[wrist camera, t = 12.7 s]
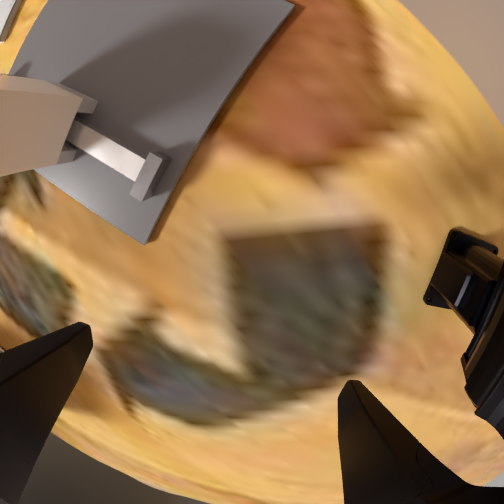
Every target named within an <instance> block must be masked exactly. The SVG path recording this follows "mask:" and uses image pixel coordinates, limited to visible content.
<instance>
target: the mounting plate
mask: <svg viewBox="0 0 504 504" xmlns="http://www.w3.org/2000/svg"><path fill="white" fill-rule="evenodd" d="M294 9H295V5H294V4H292V3H290V2H287V1H285V0H48V2H47V3H46V5H45V6H44V8H43V9H42V11H41V13H40V14H39V16H38V17H37V19H36V21H35V22H34V24H33V26H32V28H31V29H30V31H29V33H28V35H27V37H26V39H25V41H24V42H23V44H22V46H21V48H20V50H19V52H18V55H17V57H16V59H15V61H14V63H13V65H12V68H11V70H10V72H9V75H14V76H18V77H26V78H33V79H39V80H45V81H51V82H57V83H60V84H63V85H65V86H67V87H69V88H71V89H74V90H76V91H78V92H80V93H82V94H84V95H86V96H88V97H91V98H93V99H95V100H97V101H98V104H97V106H96V108H95V110H94V112H93V114H91V113H81V112H77V113H76V115H75V116H77V117H79V118H81V119H83V120H85V121H86V122H88V123H90V124H92V125H94V126H96V127H97V128H99V129H101V130H103V131H105V132H106V133H108V134H110V135H112V136H114V137H115V138H117V139H119V140H121V141H122V142H124V143H126V144H128V145H130V146H131V147H133V148H135V149H137V150H138V151H140V152H142V153H144V154H145V155H147V156H148V154H149V152H156V151H161V152H163V153H164V154H166V155H168V156H170V157H171V158H172V160H171V162H170V164H169V166H168V168H167V170H166V171H165V173H164V175H163V177H162V179H161V181H160V183H159V185H158V187H157V189H156V191H155V193H154V195H153V197H152V198H149V199H147V200H145V201H143V202H141V201H139V200H137V199H136V198H134V197H133V196H131V195H129V194H130V192H131V189H132V187H133V185H134V183H135V182H134V181H133V180H131V179H130V178H128V177H126V176H125V175H123V174H121V173H120V172H118V171H116V170H115V169H113V168H112V167H110V166H108V165H107V164H105V163H103V162H102V161H100V160H98V159H97V158H95V157H93V156H92V155H90V154H89V153H87V152H85V151H84V150H82V149H80V148H79V147H77V146H75V145H74V144H72V143H71V142H69V141H67V140H66V139H65V143H66V144H68V145H70V146H71V147H73V148H74V149H76V150H77V152H76V154H75V157H74V159H73V162H69V163H63V164H57V165H52V166H46V167H41V168H36V169H34V170H35V171H36V172H38V173H39V174H40V175H42V176H43V177H44V178H46V179H47V180H49V181H50V182H51V183H53V184H54V185H55V186H57V187H58V188H60V189H61V190H62V191H64V192H65V193H67V194H68V195H69V196H71V197H72V198H74V199H75V200H77V201H78V202H79V203H81V204H82V205H84V206H85V207H87V208H88V209H90V210H91V211H93V212H94V213H95V214H97V215H98V216H100V217H101V218H103V219H104V220H106V221H107V222H109V223H110V224H112V225H113V226H115V227H116V228H118V229H119V230H121V231H122V232H124V233H126V234H127V235H129V236H130V237H132V238H133V239H135V240H136V241H138V242H139V243H141V244H143V245H146V244H147V243H148V241H149V239H150V237H151V235H152V232H153V230H154V228H155V226H156V224H157V222H158V220H159V218H160V216H161V214H162V212H163V210H164V208H165V206H166V204H167V202H168V200H169V198H170V196H171V195H172V193H173V191H174V189H175V187H176V185H177V183H178V181H179V179H180V178H181V176H182V174H183V172H184V170H185V169H186V167H187V165H188V163H189V161H190V160H191V158H192V156H193V154H194V153H195V151H196V149H197V148H198V146H199V144H200V142H201V141H202V139H203V137H204V136H205V134H206V132H207V131H208V129H209V127H210V126H211V124H212V123H213V121H214V119H215V118H216V116H217V115H218V113H219V111H220V110H221V108H222V107H223V105H224V104H225V102H226V101H227V99H228V98H229V96H230V95H231V93H232V92H233V90H234V89H235V87H236V86H237V84H238V83H239V81H240V80H241V78H242V77H243V75H244V74H245V73H246V71H247V70H248V68H249V67H250V66H251V64H252V63H253V61H254V60H255V59H256V57H257V56H258V54H259V53H260V52H261V50H262V49H263V48H264V46H265V45H266V44H267V42H268V41H269V40H270V39H271V37H272V36H273V35H274V33H275V32H276V31H277V30H278V28H279V27H280V26H281V25H282V23H283V22H284V21H285V20H286V18H287V17H288V16H289V15H290V14H291V12H292V11H293V10H294Z"/></svg>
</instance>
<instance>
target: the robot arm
mask: <svg viewBox="0 0 504 504" xmlns="http://www.w3.org/2000/svg"><path fill="white" fill-rule="evenodd" d="M454 234H455V237H454V238H453V235H454ZM493 251H494V252H493ZM497 254H498V248H497V247H496V246H494V245H492V244H490V243H488V242H485V241H483V240H480V239H478V238H476V237H473V236H471V235H468V234H466V233H463V232H461V231H458V230H456V229H452V230H450V232H449V234H448V237H447V239H446V242H445V245H444V248H443V251H442V253H441V256H440V259H439V261H438V264H437V266H436V269H435V271H434V274H433V276H432V279H431V281H430V283H429V286H428V288H427V290H426V292H425V295H424V297H423V301H424V302H425V303H426V304H427V305H431V306H436V307H441V308H446V309H452V310H453V311H454V312H455V313H456V314H457V316H458V317H459V318H460V319H461V320H462V321H463V322H464V323H465V325H466V326H467V327H468V328H469V329H470V330H471V332H472V333H473V334H474V336H473V338H472V340H471V342H470V344H469V346H468V348H467V350H466V352H465V353H464V354H463V355H462V357H461V363H462V367H463V371H464V375H465V379H466V385H465V391H466V393H467V395H468V397H469V399H470V400H471V401H472V403H473V405H474V406H475V407H476V408H477V409H476V411H475V415H477V416H478V417H480V418H482V419H484V420H486V421H487V422H488V423H490V424H491V425H492V426H493V427H494V428H495V429H496V430H497V431H498V433H499V434H500V435H501V437H502V438H503V439H504V260H502V259H501V258H499V257H498V256H497ZM429 297H430V299H429V300H428V298H429ZM92 347H93V339H92V333H91V327H90V325H88V324H86V323H83V322H77V323H75V324H72V325H70V326H67V327H65V328H62V329H60V330H57V331H55V332H52V333H50V334H47V335H45V336H42V337H40V338H37V339H34V340H32V341H29V342H27V343H24V344H22V345H19V346H17V347H14V348H12V349H9V350H7V351H4V352H3V353H0V498H1V499H2V500H4V501H5V502H6V503H8V504H19V501H20V499H21V496H22V494H23V491H24V489H25V486H26V484H27V481H28V479H29V477H30V474H31V472H32V470H33V467H34V465H35V463H36V461H37V459H38V456H39V454H40V452H41V450H42V448H43V446H44V444H45V442H46V440H47V438H48V436H49V433H50V432H51V430H52V428H53V426H54V424H55V422H56V420H57V418H58V416H59V414H60V412H61V411H62V409H63V407H64V405H65V403H66V401H67V399H68V398H69V396H70V394H71V392H72V390H73V389H74V387H75V385H76V383H77V381H78V379H79V377H80V375H81V372H82V370H83V368H84V366H85V363H86V361H87V359H88V357H89V354H90V352H91V350H92ZM338 442H339V451H340V460H341V470H342V480H343V492H344V504H504V487H483V486H475V485H471V484H469V483H467V482H465V481H464V480H462V479H461V478H460V477H459V476H457V475H456V474H455V473H454V472H452V471H451V470H450V469H449V468H447V467H446V466H445V465H444V464H442V463H441V462H440V461H439V460H438V459H437V458H435V457H434V456H433V455H432V454H431V453H430V452H429V451H428V450H427V449H426V448H425V447H424V446H423V445H422V444H421V443H419V441H418V440H417V439H416V438H415V437H414V436H413V435H412V434H411V433H410V432H409V431H408V430H407V429H406V428H405V427H404V426H403V425H402V424H401V423H400V422H399V421H398V420H397V419H396V418H395V417H394V416H393V415H392V414H391V412H390V411H389V410H388V409H387V408H386V407H385V406H384V405H383V404H382V403H381V402H380V401H379V400H378V399H377V398H376V397H375V396H374V395H373V394H372V393H371V392H370V391H369V390H368V389H367V388H366V387H365V386H364V385H363V384H362V383H361V382H360V381H358V380H348V381H347V382H346V384H345V386H344V388H343V389H342V391H341V393H340V394H339V397H338Z"/></svg>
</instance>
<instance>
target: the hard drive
mask: <svg viewBox="0 0 504 504" xmlns="http://www.w3.org/2000/svg"><path fill="white" fill-rule="evenodd" d="M21 2H22V0H0V44H1V43H4V42H5V40H6V37H7V34H8V32H9V29H10V27H11V24H12V22H13V20H14V17H15V15H16V13H17V11H18V9H19V6H20V4H21Z"/></svg>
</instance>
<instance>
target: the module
mask: <svg viewBox="0 0 504 504" xmlns="http://www.w3.org/2000/svg"><path fill="white" fill-rule="evenodd" d="M97 104H98V101H97V100H95V99H93V98H91V97H88V96H86V95H84V94H82V93H80V92H78V91H76V90H74V89H71V88H69V87H67V86H65V85H63V84H60V83H57V82H51V81H45V80H39V79H33V78H26V77H18V76H9V75H0V177H1V176H5V175H9V174H13V173H18V172H22V171H27V170H31V169H36V168H41V167H46V166H52V165H57V164H63V163H69V162H73V159H74V157H75V154H76V152H77V150H76V149H74V148H73V147H71V146H70V145H68V144H66V143H65V139H66V137H67V134H68V132H69V129H70V127H71V124H72V122H73V120H74V117H75V115H76V113H77V112H81V113H91V114H93V112H94V110H95V108H96V106H97Z"/></svg>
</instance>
